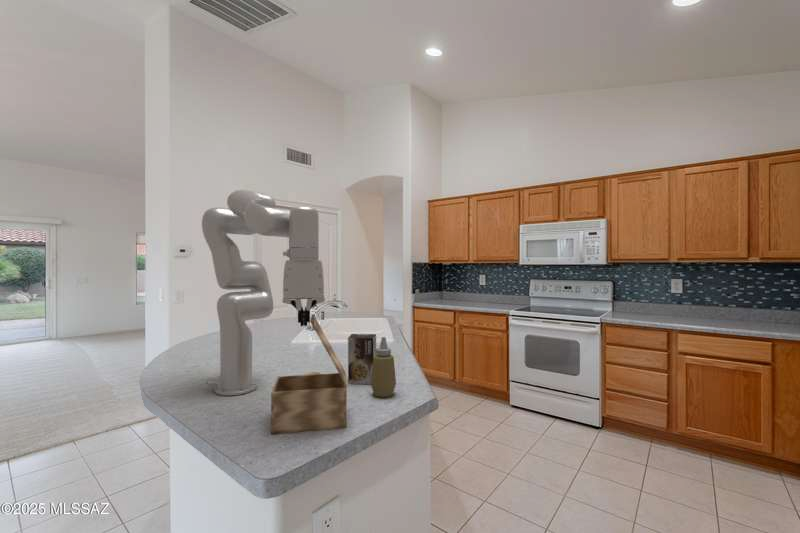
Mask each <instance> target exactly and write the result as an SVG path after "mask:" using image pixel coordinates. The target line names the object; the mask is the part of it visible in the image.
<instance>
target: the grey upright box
mask: <svg viewBox="0 0 800 533" xmlns="http://www.w3.org/2000/svg"><path fill="white" fill-rule="evenodd" d="M376 349H377V334H376V333H351V334H350V335H349V336H348V337H347V355H348V356H347V358H348V359H347V361H348V362H347V366H348V367H347V370H348V371H347V374H348V375H347V381H348V383H349V384H348V385H350V384H351V385H371V376H372V366H373V357H374V356H375V355H377V354H376Z"/></svg>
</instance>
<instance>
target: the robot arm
mask: <svg viewBox="0 0 800 533" xmlns="http://www.w3.org/2000/svg"><path fill="white" fill-rule="evenodd" d="M226 205H227V207H211V208H209V209H207V210H205V212H204V213H203V214H202V220H201V229H202V234H203V238H204V240H205V241H206V245H207V246H208V247H209V250H210V253H211V256H212V262H213V267H214V274H215V278H216V282H217V285H218V286H219V288H220V289H223V290H229V291H230V290H231V291H232V290H235V291H232V292H231V291H230V292H227V293H224V294H223V295H220V297H219V298H218V300H216V301H217V303H216V312H217V317H218V321H219V322H218V323H219V336H220V338H219V339H220V340H219V341H220V342H219V345H220V348H219V349H220V350H219V351H220V352H219V354H220V355H219V359H220V360H219V361H220V362H219V364H220V365H219V366H220V367H219V375H218V376H217V377H206V379H205V385H207V386H215V387H214V393H215V394H216V395H218V396H226V397H227V396H231V397H232V396H239V395H245V394H248V393H250V392H252V391H255V390H256V389H257V388H258V382H257V381H256V380H253V332H252V330H251V329H250V327H249V326H248V325H247V324H246V321H251V320H258V319H259V320H260V319H261V320H262V319H266V318H268V317H270V316H271V315H272V314H273V311H274V298H273V294H272V290H271V289H272V288H271V285H270V281H269V276H268V273H267V272H268V271H267V270H266V268H265V266H264V265H263V264H262V263H261V262H258V261H251V260H250V261H249V260H248V261H247V260H246V261H245V260H243V259H242V257H241V254H240V249H239V246H238V245H237V244H236V243H235V241H233V239H231V237H230V236H229V235H244V236H252V235H255V234H258V235H260V236H265V237H277V238H278V237H279V238H280V237H281V238H288V249H286V250H283V251H282V255H283V257H287V258H288V259H287V260H285V263H284V268H283V279H282V280H283V281H282V282H283V283H282V294H283V298H282V303H283V304H287V305H292V307H294V308H295V309H296V311H297V323H298V324H299V323H300V327H303V326H304V327H307V326H308V323H311V310H312V309H313V308H314V306H316V305H317V304H321V303H325V301H326V299H325V296H324V295H325V294H324V293H325V282H324V268H323V263H322V260H319V244H320V243H319V241H320V240H319V230H320V229H319V227H320V226H319V219H320V218H319V212H318V210H317V209H316V208H314V207H308V206H294V207H291V209H284V208H277V205H276V201H275V199H274V198H273V196H272V195H270V194H268V193H265V192H259V191H252V190H251V191H250V190H245V189H241V190H240V189H239V190H235V191H233V192H231V193H230V194H229V196H228V197H227V201H226ZM228 234H229V235H228ZM237 290H248V291H237ZM249 290H250V291H249ZM302 300H306V306H305V308H304V307H303V305H302V304H303V303H302Z"/></svg>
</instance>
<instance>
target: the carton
mask: <svg viewBox="0 0 800 533" xmlns="http://www.w3.org/2000/svg"><path fill="white" fill-rule="evenodd" d="M347 388H348V387H346V385H345V383H344V381H343V379H342V378H341V376H340V374H339V372H331V373H330V372H329V373H320V374H311V375H305V374H297V375H296V374H295V375H280V376H276V379H275V381H274V384H273V387H272V390H271V392H270V405H271V406H270V435H277V434H280V435H281V434H288V433H300V432H309V431H310V432H314V431H323V430H324V431H325V430H336V429H345V428H346V429H347V408H348V407H347V406H348V404H347V399H348V397H347V395H348V394H347V390H348V389H347Z"/></svg>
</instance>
